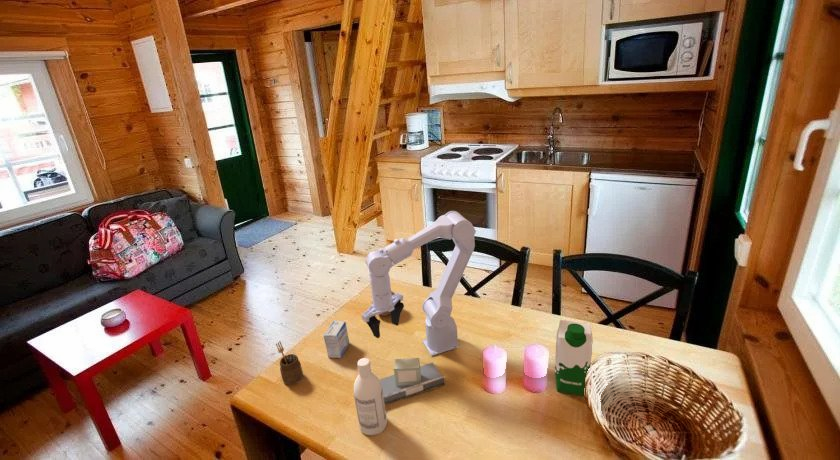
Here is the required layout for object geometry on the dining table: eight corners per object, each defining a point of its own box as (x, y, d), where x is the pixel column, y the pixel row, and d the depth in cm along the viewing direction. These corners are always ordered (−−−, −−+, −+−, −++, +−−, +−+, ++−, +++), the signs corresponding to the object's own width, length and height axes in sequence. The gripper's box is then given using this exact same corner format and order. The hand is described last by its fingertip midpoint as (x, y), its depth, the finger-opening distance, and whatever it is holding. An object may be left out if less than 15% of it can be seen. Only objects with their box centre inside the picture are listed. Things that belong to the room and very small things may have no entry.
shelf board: (432, 364, 121) (432, 357, 120) (445, 384, 113) (444, 377, 112) (368, 385, 115) (367, 378, 115) (376, 408, 107) (375, 401, 106)
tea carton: (396, 375, 117) (394, 359, 115) (420, 374, 117) (419, 357, 114) (395, 386, 113) (393, 369, 111) (420, 385, 113) (419, 367, 111)
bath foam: (373, 409, 107) (364, 348, 100) (392, 422, 103) (384, 359, 95) (354, 427, 102) (342, 364, 95) (373, 441, 98) (362, 376, 90)
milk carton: (553, 393, 107) (557, 331, 100) (554, 370, 115) (558, 311, 108) (588, 400, 105) (595, 336, 97) (587, 375, 112) (593, 315, 105)
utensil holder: (292, 388, 117) (284, 354, 112) (278, 381, 120) (269, 348, 115) (307, 375, 121) (300, 342, 117) (293, 368, 124) (285, 336, 120)
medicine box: (340, 358, 127) (336, 336, 124) (327, 357, 128) (323, 335, 125) (349, 342, 134) (345, 321, 131) (337, 342, 135) (333, 320, 132)
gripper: (371, 306, 109) (376, 347, 114) (408, 284, 119) (412, 323, 124) (354, 298, 114) (361, 338, 119) (392, 278, 123) (396, 315, 128)
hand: (386, 330), depth 122 cm, fingers open, 7 cm apart
